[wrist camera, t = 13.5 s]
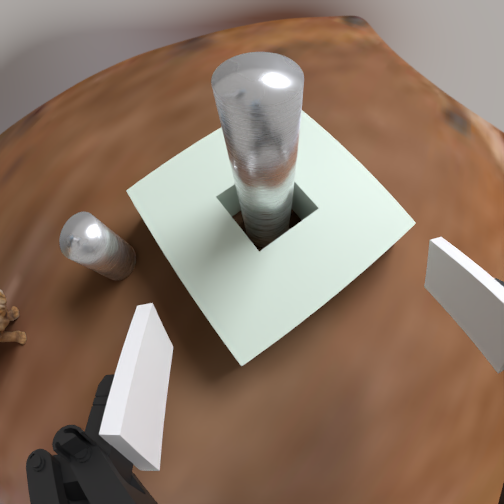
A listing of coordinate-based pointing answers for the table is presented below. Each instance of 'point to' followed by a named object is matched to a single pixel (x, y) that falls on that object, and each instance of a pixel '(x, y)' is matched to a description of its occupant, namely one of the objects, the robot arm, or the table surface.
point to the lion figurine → (1, 320)
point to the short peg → (97, 247)
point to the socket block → (279, 251)
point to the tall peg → (261, 136)
